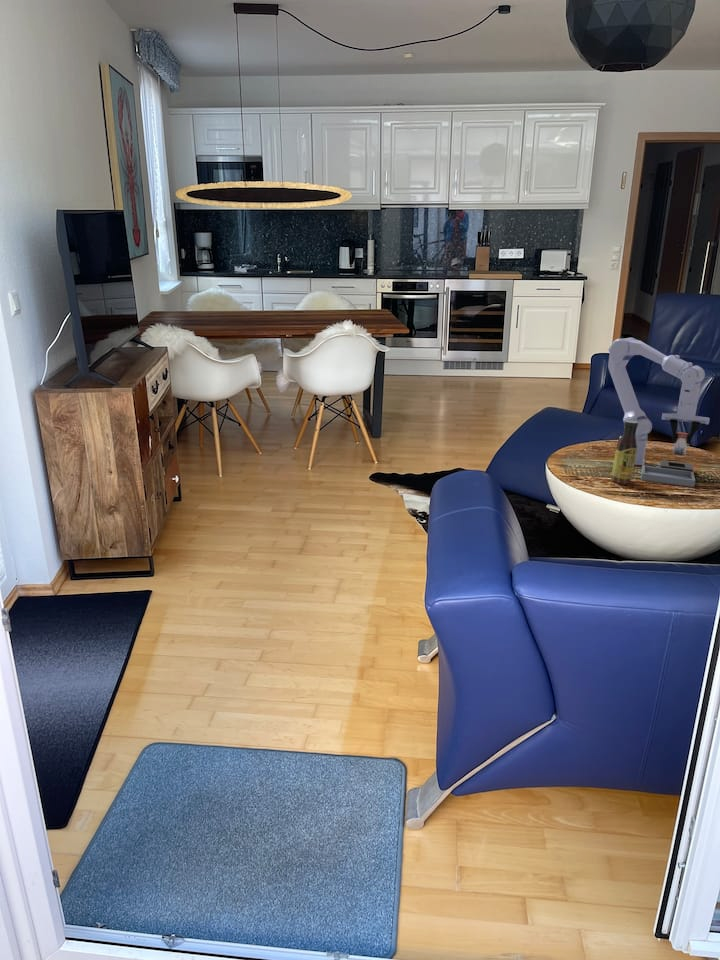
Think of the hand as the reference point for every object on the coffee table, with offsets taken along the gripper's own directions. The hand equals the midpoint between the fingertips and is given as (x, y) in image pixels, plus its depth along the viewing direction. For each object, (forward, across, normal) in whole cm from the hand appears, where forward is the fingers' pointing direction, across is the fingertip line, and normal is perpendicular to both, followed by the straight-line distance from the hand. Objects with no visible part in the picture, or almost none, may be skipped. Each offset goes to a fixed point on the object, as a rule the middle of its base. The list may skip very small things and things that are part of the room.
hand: (681, 442), depth 244 cm
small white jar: (+4, 0, 0) cm, 4 cm away
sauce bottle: (+11, -17, -22) cm, 30 cm away
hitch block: (+10, 0, 0) cm, 10 cm away
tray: (+10, -3, -11) cm, 15 cm away
